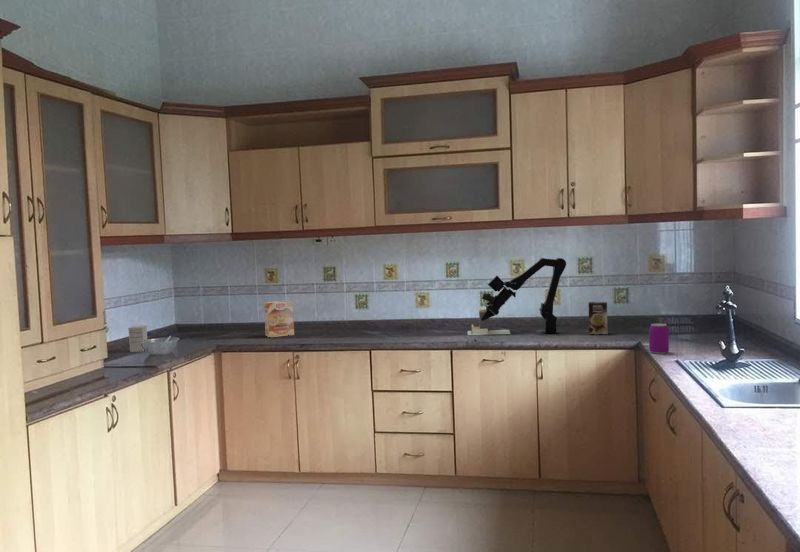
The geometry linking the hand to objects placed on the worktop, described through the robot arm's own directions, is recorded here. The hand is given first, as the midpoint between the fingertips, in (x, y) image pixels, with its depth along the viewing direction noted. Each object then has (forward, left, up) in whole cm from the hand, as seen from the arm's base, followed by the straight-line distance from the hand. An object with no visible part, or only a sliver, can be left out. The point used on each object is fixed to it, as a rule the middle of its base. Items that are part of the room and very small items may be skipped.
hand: (481, 319), depth 362 cm
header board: (-1, -3, -8) cm, 9 cm away
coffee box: (-29, -51, -8) cm, 59 cm away
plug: (-1, -1, -6) cm, 6 cm away
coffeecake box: (+59, +98, -8) cm, 115 cm away
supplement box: (+47, +172, -8) cm, 179 cm away
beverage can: (-86, -44, -8) cm, 97 cm away
